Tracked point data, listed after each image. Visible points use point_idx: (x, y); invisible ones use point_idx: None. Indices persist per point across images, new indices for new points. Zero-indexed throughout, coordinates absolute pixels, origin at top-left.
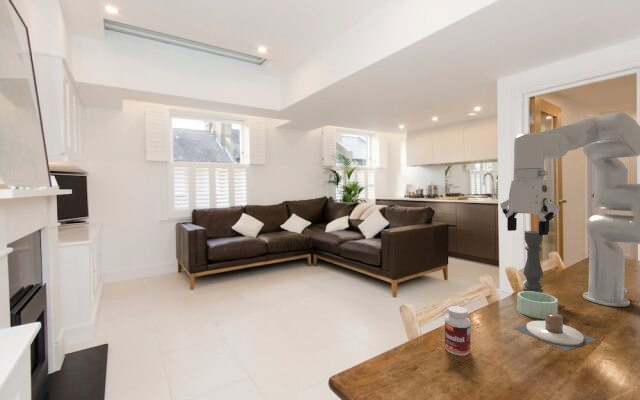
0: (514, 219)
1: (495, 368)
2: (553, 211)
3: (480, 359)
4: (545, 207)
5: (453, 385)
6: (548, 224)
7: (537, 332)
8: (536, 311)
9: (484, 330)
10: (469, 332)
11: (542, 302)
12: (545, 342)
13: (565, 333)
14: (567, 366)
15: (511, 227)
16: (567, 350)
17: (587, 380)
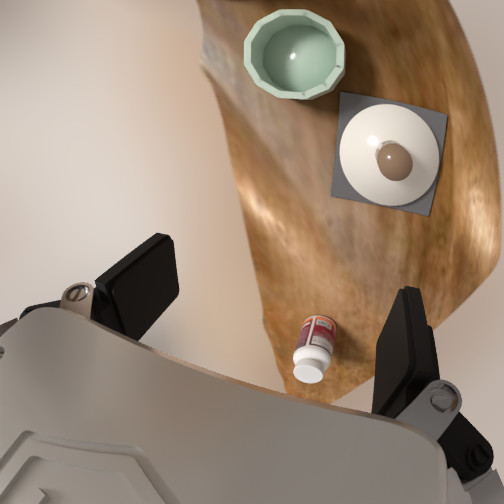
0: (124, 304)
1: (374, 329)
2: (466, 496)
3: (352, 325)
4: (377, 502)
5: (357, 375)
6: (433, 374)
7: (375, 194)
8: (321, 94)
9: (302, 243)
10: (332, 350)
11: (328, 83)
12: (396, 208)
13: (410, 152)
14: (439, 258)
15: (167, 293)
16: (429, 210)
17: (462, 274)
